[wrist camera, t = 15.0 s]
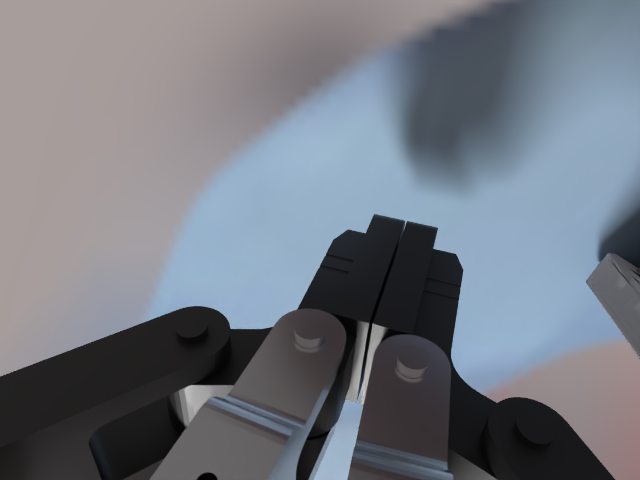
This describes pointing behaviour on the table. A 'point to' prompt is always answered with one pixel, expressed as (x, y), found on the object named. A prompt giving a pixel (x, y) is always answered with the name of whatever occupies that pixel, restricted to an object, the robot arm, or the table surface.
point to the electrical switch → (619, 295)
